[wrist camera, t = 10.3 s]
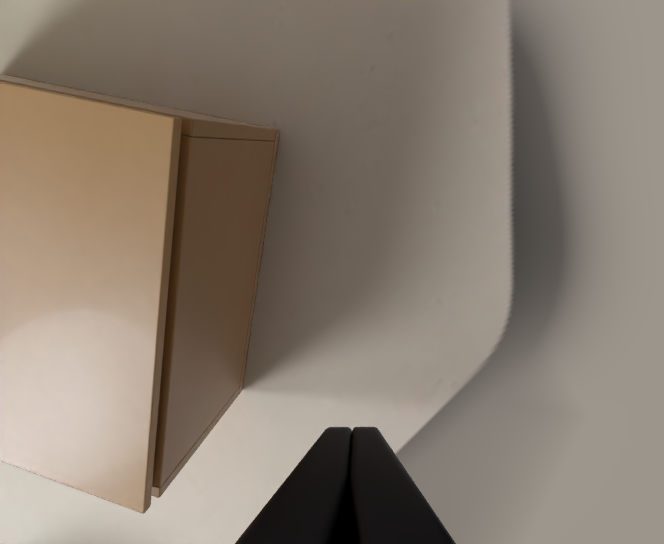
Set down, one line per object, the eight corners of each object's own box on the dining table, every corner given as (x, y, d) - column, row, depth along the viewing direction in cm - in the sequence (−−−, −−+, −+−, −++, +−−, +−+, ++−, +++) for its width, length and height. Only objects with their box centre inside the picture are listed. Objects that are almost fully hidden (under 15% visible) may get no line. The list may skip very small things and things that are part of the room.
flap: (182, 118, 12) (174, 117, 11) (150, 505, 15) (144, 514, 15) (-34, 74, 13) (-49, 71, 12) (-14, 445, 17) (-24, 452, 16)
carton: (280, 129, 19) (177, 115, 11) (242, 390, 23) (145, 516, 15) (-1, 73, 21) (-255, 28, 13) (8, 322, 25) (-185, 402, 17)
